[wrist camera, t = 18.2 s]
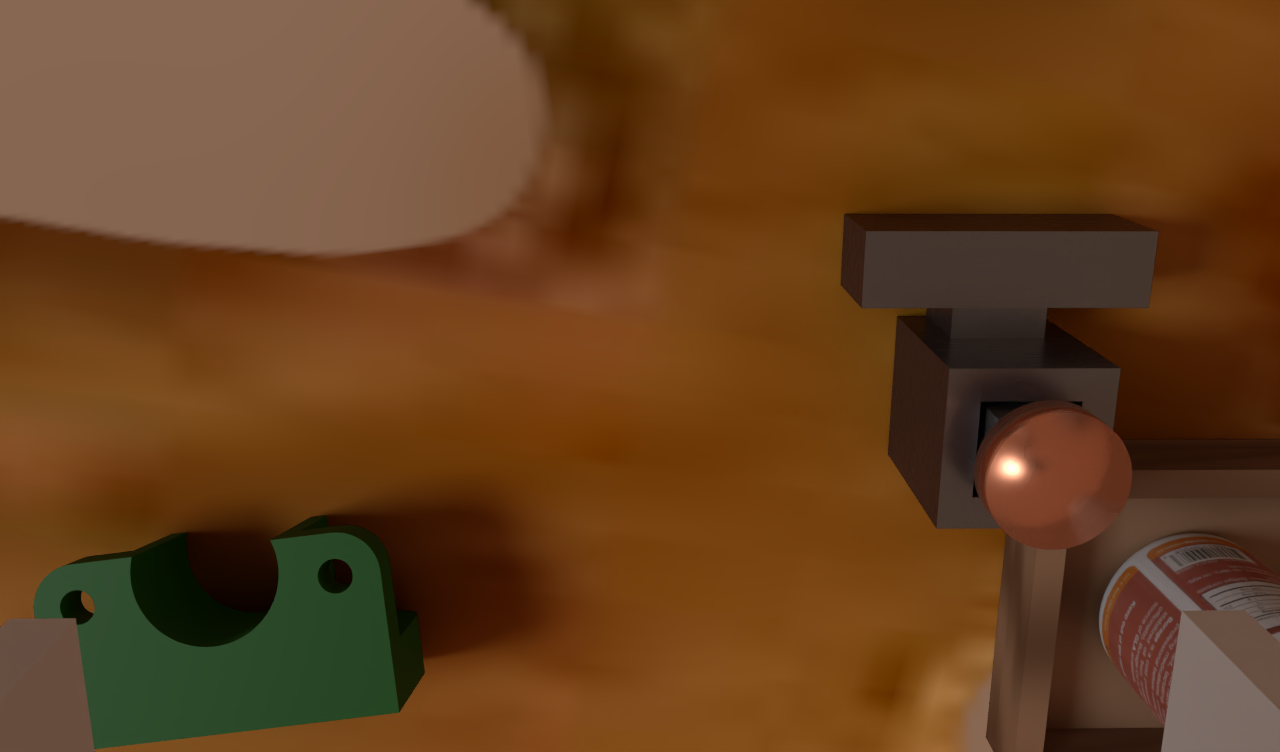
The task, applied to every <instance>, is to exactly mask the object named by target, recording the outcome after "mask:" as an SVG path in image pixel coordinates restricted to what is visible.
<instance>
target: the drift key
mask: <svg viewBox="0 0 1280 752" xmlns="http://www.w3.org/2000/svg"><path fill="white" fill-rule="evenodd" d="M974 481H975V487H976V490H977V494H978V496H979V498H980V500H981V502H982V504H983V505H984V507H985V508H986V510H987V511H988V512H989V513H990V515H991V516H992V517H993V518H994V520H995V521H996V522H997V524H998V525H999V526H1000V527H1001V528H1002V530H1003V531H1004V532H1006V533H1007V534H1008V535H1009V536H1010V537H1012V538H1013V539H1015V540H1016V541H1018V542H1020V543H1022V544H1024V545H1027V546H1030V547H1033V548H1038V549H1045V550H1058V549H1065V548H1071V547H1074V546H1077V545H1080V544H1083V543H1085V542H1087V541H1089V540H1091V539H1093V538H1094V537H1096V536H1098V535H1099V534H1100V533H1102V532H1103V531H1104V530H1105V529H1106V528H1108V527H1109V526H1110V525H1111V524H1112V523H1113V521H1114V520H1115V519H1116V518H1117V517H1118V515H1119V514H1120V512H1121V511H1122V509H1123V507H1124V505H1125V503H1126V501H1127V499H1128V496H1129V493H1130V489H1131V484H1132V465H1131V460H1130V456H1129V454H1128V451H1127V448H1126V447H1125V445H1124V443H1123V441H1122V440H1121V439H1120V437H1119V436H1118V435H1117V434H1116V433H1115V432H1114V431H1113V430H1112V429H1111V428H1110V427H1109V426H1107V425H1106V424H1105V423H1104V422H1102V421H1101V420H1100V419H1099V418H1097V417H1096V416H1095V415H1094V414H1092V413H1091V412H1089V411H1088V410H1086V409H1085V408H1083V407H1081V406H1079V405H1076V404H1073V403H1070V402H1065V401H1059V400H1044V401H1028V402H981V406H980V417H979V428H978V439H977V450H976V459H975V465H974Z"/></svg>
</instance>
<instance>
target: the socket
mask: <svg viewBox="0 0 1280 752" xmlns="http://www.w3.org/2000/svg"><path fill="white" fill-rule="evenodd" d="M1158 232H1159V231H1156V230H1153V229H1151V228H1148V227H1145V226H1142V225H1140V224H1137V223H1134V222H1132V221H1129V220H1126V219H1123V218H1121V217H1118V216H1115V215H1113V214H844V231H843V250H842V268H841V286H842V287H843V288H844V289H845V290H846V291H847V292H848V293H849V295H850V296H851V297H852V298H853V299H854V300H855V301H856V302H857V303H858V305H859V306H860V307H861V308H927V314H926V316H897V327H896V342H895V357H894V371H893V386H892V401H891V416H890V431H889V445H888V455H889V457H890V458H891V460H892V461H893V463H894V464H895V466H896V467H897V469H898V470H899V472H900V473H901V475H902V476H903V478H904V480H905V481H906V483H907V484H908V486H909V487H910V489H911V490H912V492H913V493H914V495H915V496H916V498H917V499H918V501H919V503H920V504H921V506H922V507H923V509H924V510H925V512H926V513H927V515H928V516H929V518H930V519H931V521H932V522H933V524H934V526H935V527H936V529H940V528H1001V527H1000V526H999V525H998V524H997V522H996V521H995V520H994V518H993V517H992V516H991V515H990V513H989V512H988V511H987V510H986V508H985V507H984V505H983V504H982V502H981V500H980V498H979V496H978V494H977V490H976V487H975V481H974V465H975V459H976V450H977V439H978V428H979V417H980V406H981V402H1028V401H1044V400H1059V401H1065V402H1070V403H1073V404H1076V405H1079V406H1081V407H1083V408H1085V409H1086V410H1088V411H1089V412H1091V413H1092V414H1094V415H1095V416H1096V417H1097V418H1099V419H1100V420H1101V421H1102V422H1104V423H1105V424H1106V425H1107V426H1109V427H1110V428H1111V429H1112V430H1113V427H1114V419H1115V411H1116V403H1117V395H1118V387H1119V379H1120V371H1121V368H1119V367H1118V366H1116V365H1115V364H1113V363H1112V362H1110V361H1109V360H1107V359H1106V358H1104V357H1103V356H1101V355H1100V354H1098V353H1097V352H1095V351H1094V350H1092V349H1091V348H1089V347H1088V346H1086V345H1085V344H1083V343H1082V342H1080V341H1079V340H1077V339H1076V338H1074V337H1073V336H1071V335H1070V334H1068V333H1067V332H1065V331H1064V330H1062V329H1061V328H1059V327H1058V326H1056V325H1055V324H1053V323H1052V322H1050V321H1049V320H1047V319H1046V316H1047V308H1149V302H1150V294H1151V286H1152V278H1153V271H1154V263H1155V255H1156V247H1157V239H1158Z"/></svg>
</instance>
